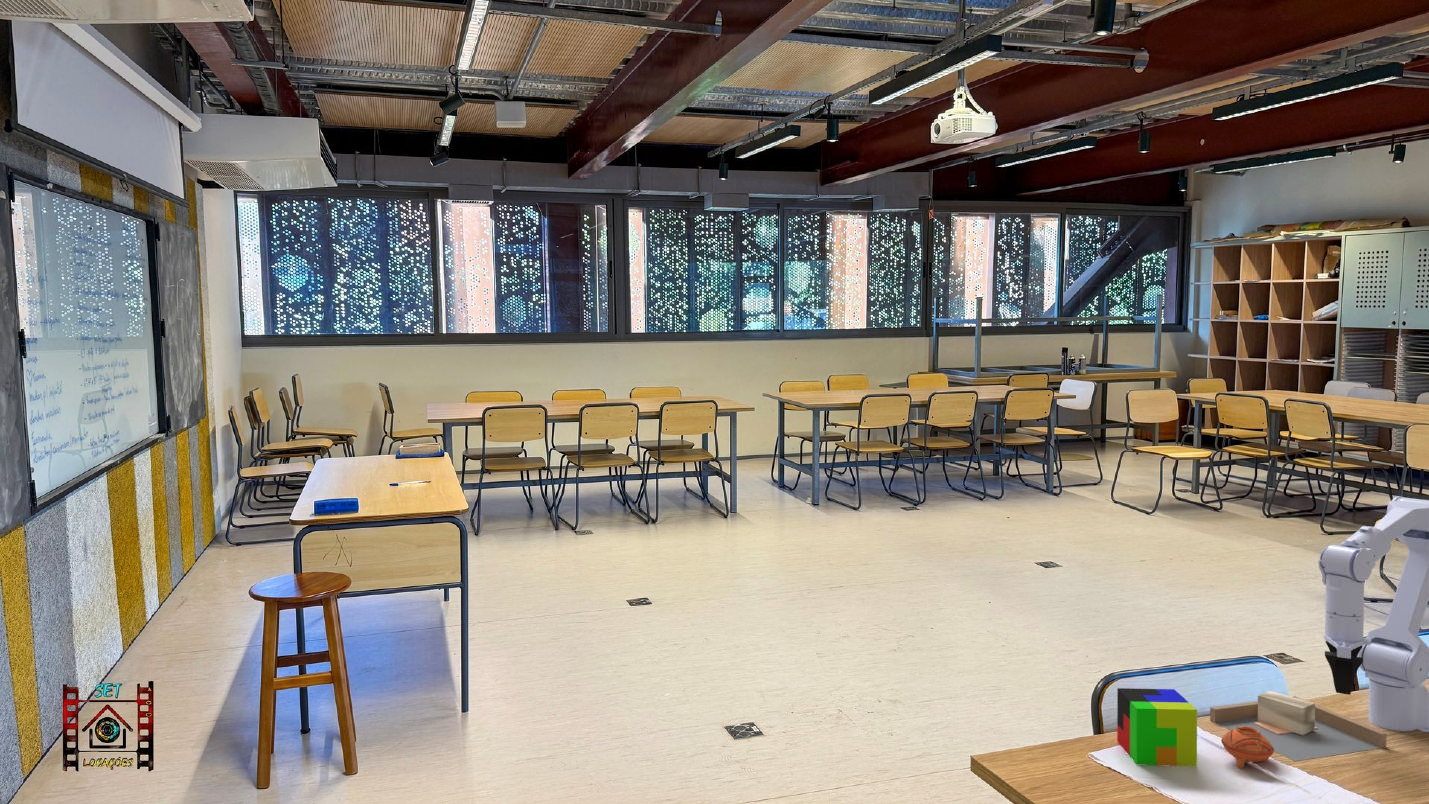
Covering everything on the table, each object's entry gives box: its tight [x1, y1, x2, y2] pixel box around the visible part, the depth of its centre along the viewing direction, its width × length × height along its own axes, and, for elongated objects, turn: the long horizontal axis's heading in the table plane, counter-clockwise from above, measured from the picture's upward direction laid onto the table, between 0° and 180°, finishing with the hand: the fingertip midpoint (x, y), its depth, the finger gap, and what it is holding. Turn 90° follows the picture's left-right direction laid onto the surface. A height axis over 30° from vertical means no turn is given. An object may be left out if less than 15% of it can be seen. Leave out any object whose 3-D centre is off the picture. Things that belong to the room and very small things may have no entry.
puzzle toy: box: [1116, 687, 1198, 767], centre depth 165 cm, size 10×10×10 cm
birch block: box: [1257, 690, 1316, 735], centre depth 174 cm, size 4×8×5 cm, turn 32°
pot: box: [1220, 726, 1274, 770], centre depth 160 cm, size 8×8×7 cm
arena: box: [1209, 695, 1388, 762], centre depth 171 cm, size 20×19×3 cm
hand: (1343, 686), depth 168 cm, fingers open, 7 cm apart
